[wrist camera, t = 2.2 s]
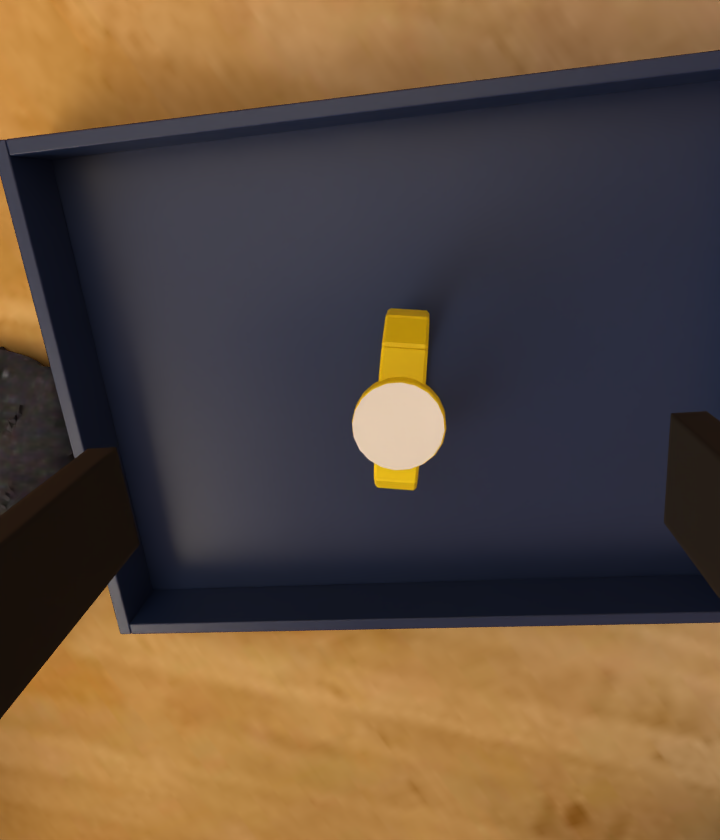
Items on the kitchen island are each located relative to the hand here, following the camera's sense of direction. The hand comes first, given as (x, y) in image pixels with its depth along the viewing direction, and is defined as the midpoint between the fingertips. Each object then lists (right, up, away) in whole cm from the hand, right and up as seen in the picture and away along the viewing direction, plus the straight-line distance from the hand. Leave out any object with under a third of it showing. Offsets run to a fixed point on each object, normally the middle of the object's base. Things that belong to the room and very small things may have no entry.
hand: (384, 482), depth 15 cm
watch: (+1, +3, +9) cm, 10 cm away
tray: (+1, +3, +9) cm, 10 cm away
